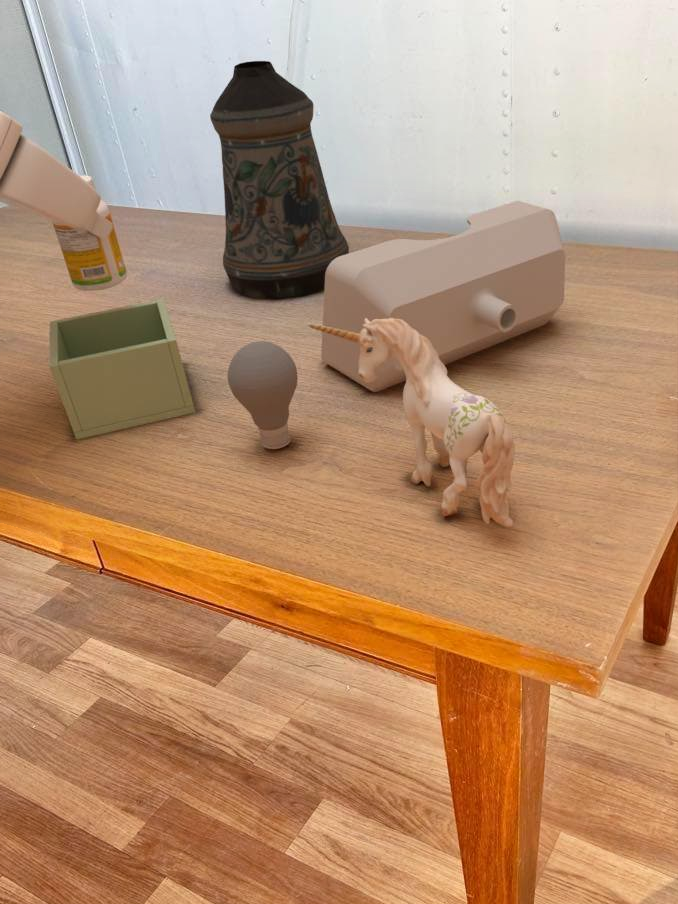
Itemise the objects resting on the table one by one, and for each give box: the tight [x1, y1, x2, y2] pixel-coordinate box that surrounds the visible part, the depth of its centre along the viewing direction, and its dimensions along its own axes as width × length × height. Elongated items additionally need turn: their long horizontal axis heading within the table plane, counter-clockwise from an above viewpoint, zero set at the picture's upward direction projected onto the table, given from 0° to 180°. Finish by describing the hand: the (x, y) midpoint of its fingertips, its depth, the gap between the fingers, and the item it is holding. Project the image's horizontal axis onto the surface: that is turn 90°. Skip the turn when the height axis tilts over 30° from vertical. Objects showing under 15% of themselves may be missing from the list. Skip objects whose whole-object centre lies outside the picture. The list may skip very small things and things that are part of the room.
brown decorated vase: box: [209, 60, 350, 301], centre depth 106 cm, size 16×19×25 cm
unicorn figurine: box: [306, 318, 516, 528], centre depth 66 cm, size 7×20×13 cm, turn 46°
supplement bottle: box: [51, 174, 128, 292], centre depth 82 cm, size 5×5×10 cm
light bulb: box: [227, 341, 298, 450], centre depth 75 cm, size 6×6×10 cm
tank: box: [320, 200, 566, 393], centre depth 86 cm, size 25×16×12 cm, turn 125°
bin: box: [48, 298, 196, 440], centre depth 85 cm, size 12×12×8 cm
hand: (90, 225), depth 82 cm, fingers closed on supplement bottle, 5 cm apart
